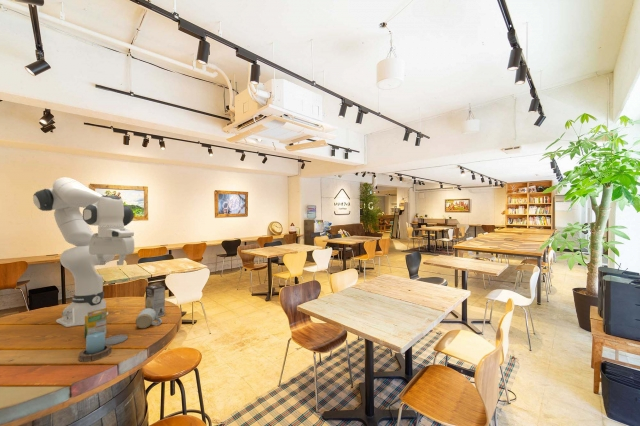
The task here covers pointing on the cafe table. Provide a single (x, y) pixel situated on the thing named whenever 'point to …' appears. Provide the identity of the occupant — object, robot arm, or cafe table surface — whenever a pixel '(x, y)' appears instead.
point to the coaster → (116, 339)
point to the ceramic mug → (147, 318)
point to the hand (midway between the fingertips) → (111, 265)
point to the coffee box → (156, 299)
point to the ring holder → (96, 356)
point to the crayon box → (96, 321)
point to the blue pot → (95, 342)
